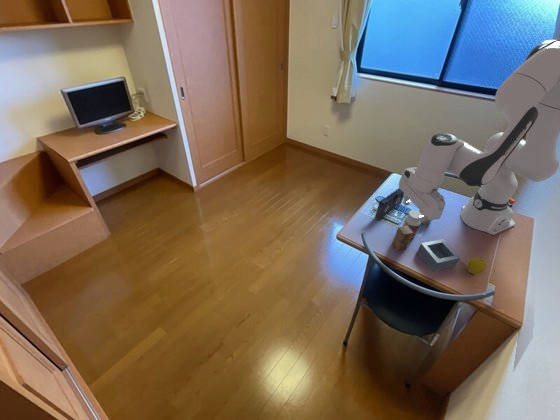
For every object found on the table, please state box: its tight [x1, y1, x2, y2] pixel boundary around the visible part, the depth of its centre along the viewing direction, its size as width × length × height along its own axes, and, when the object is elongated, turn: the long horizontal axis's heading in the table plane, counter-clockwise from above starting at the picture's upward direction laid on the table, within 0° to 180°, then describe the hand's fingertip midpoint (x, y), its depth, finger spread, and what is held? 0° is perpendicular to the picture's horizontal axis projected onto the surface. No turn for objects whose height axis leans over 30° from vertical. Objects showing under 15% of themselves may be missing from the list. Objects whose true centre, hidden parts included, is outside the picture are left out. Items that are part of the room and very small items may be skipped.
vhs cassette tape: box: [374, 187, 404, 221], centre depth 131 cm, size 18×3×10 cm, turn 129°
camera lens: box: [418, 209, 433, 225], centre depth 127 cm, size 6×6×8 cm
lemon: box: [466, 256, 487, 275], centre depth 105 cm, size 6×6×8 cm
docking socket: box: [416, 238, 461, 272], centre depth 111 cm, size 10×10×5 cm
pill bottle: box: [402, 209, 422, 239], centre depth 119 cm, size 6×6×11 cm
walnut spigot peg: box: [391, 225, 413, 252], centre depth 114 cm, size 4×4×10 cm
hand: (412, 212), depth 104 cm, fingers open, 8 cm apart
